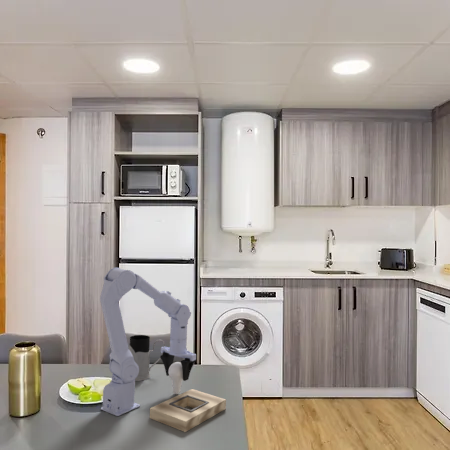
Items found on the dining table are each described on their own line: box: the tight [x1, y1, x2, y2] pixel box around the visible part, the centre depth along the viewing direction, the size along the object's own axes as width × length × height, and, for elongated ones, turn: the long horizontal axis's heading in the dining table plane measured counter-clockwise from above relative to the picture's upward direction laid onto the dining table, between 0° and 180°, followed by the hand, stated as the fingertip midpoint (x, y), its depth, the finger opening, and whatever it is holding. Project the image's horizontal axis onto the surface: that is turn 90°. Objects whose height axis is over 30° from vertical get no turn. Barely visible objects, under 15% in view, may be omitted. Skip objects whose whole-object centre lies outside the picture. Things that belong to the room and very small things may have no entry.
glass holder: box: [128, 334, 166, 382], centre depth 165 cm, size 9×14×15 cm, turn 108°
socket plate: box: [149, 388, 227, 433], centre depth 133 cm, size 20×14×3 cm
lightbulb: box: [168, 361, 183, 396], centre depth 148 cm, size 6×6×11 cm
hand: (177, 377), depth 148 cm, fingers open, 7 cm apart
